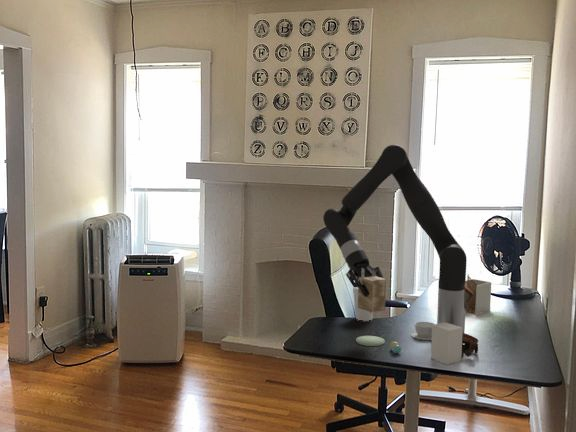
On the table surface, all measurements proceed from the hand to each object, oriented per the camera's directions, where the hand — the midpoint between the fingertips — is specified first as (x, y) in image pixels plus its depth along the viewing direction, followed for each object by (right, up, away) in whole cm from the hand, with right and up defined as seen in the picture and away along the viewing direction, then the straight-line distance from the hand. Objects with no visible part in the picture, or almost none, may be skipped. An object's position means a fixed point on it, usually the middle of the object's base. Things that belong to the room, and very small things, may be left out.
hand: (374, 294), depth 216 cm
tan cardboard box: (-1, -5, +2) cm, 6 cm away
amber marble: (+6, -18, -6) cm, 20 cm away
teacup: (+20, -17, +10) cm, 28 cm away
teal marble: (+6, -19, -9) cm, 21 cm away
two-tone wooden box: (+49, -14, +49) cm, 70 cm away
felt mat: (-1, -17, +3) cm, 17 cm away
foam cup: (0, -14, +33) cm, 36 cm away
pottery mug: (+28, -19, -10) cm, 36 cm away
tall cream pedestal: (+21, -19, -14) cm, 32 cm away
